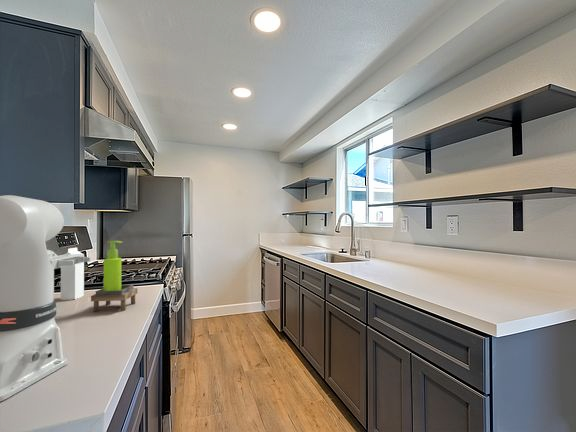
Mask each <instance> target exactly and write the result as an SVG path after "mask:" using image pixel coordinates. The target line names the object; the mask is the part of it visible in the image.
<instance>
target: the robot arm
mask: <svg viewBox="0 0 576 432" xmlns="http://www.w3.org/2000/svg"><path fill="white" fill-rule="evenodd" d="M64 224H65V218H64V215H63V213H62V212H61V210H59V209H58V207H56V206H55V205H54V204H52V203H50V202H48V201H45V200H41V199H35V198H30V197H23V196H18V195H12V194H8V195H7V194H5V195H0V402H3V401H5V400H8V398H11V397H12V396H14V395H16V394H18V393H19V392H21V391H23V390H24V389H26V388H28V387H30V386H31V385H33V384H35V383H37V382H38V381H40V380H42V379H43V378H45V377H47V376H49V375H51V374H52V373H54V372H56V371H57V370H60V369H61V368H62V367H64V366H66V365H68V358H67V357H65V356H64V355H63V354H64V353H63V345H62V336H61V335H62V334H61V329H60V327H59V325H58V324H57V322H56V320H55V316H56V315H57V309H58V307H57V301H56V300H55V270H57V269H61V267H65V266H70V265H75V264H79V263H83V262H84V263H88V262H91V257H90V256H85V254H84V253H82V254H66V253H65V254H66V255H64V254H59V255H58V254H57V253H55V251H53V250H50V249H47V244H46V243H47V242H48V241H50V240H51V239H53V238H55V237H56V236H57V235H58V234H59V233H60V232H61V231H62V230H63V228H64Z"/></svg>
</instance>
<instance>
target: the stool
mask: <svg viewBox="0 0 576 432" xmlns="http://www.w3.org/2000/svg"><path fill="white" fill-rule="evenodd" d="M137 294H138V288H137V287H136V288H134V284H121V290H120V291H104V287H103V288H101V289H98V290H96V291H95V294H93V295H90V302H93V312H94V311H95V312H94V313H97V312H99V309H100V308H99V306H100V305H99V304H100V302H105V306H110V305H111V303H112V302H113V301H114V302H115V301H116V302H117V301H120V312H125V311H126V305H127V304H126V300H128V299H130V304H131V305H135V304H136V295H137ZM96 311H97V312H96Z"/></svg>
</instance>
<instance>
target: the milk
mask: <svg viewBox="0 0 576 432" xmlns="http://www.w3.org/2000/svg"><path fill="white" fill-rule="evenodd" d="M66 254H83V253H82V252H80V251H79V250H78V247H70V248H68V249H67V252H66V253H64V254H63V255H66ZM84 290H85V262H83V263H79V264H75V265H70V266H65V267H61V268H60V300H61V301H72V300H73V299H75V300H77V298H78V299H80V298H83V297H84V296H85V291H84ZM82 296H83V297H82Z"/></svg>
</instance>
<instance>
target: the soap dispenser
mask: <svg viewBox="0 0 576 432" xmlns="http://www.w3.org/2000/svg"><path fill="white" fill-rule="evenodd" d="M107 243H108V244H109V249H107V258H104V259H103V288H104V291H120V290H121V285H122V260H123V259H122V257H119V249H118V248H116V244H123V243H124V242H123V241H121V240H109V241H107Z"/></svg>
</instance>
